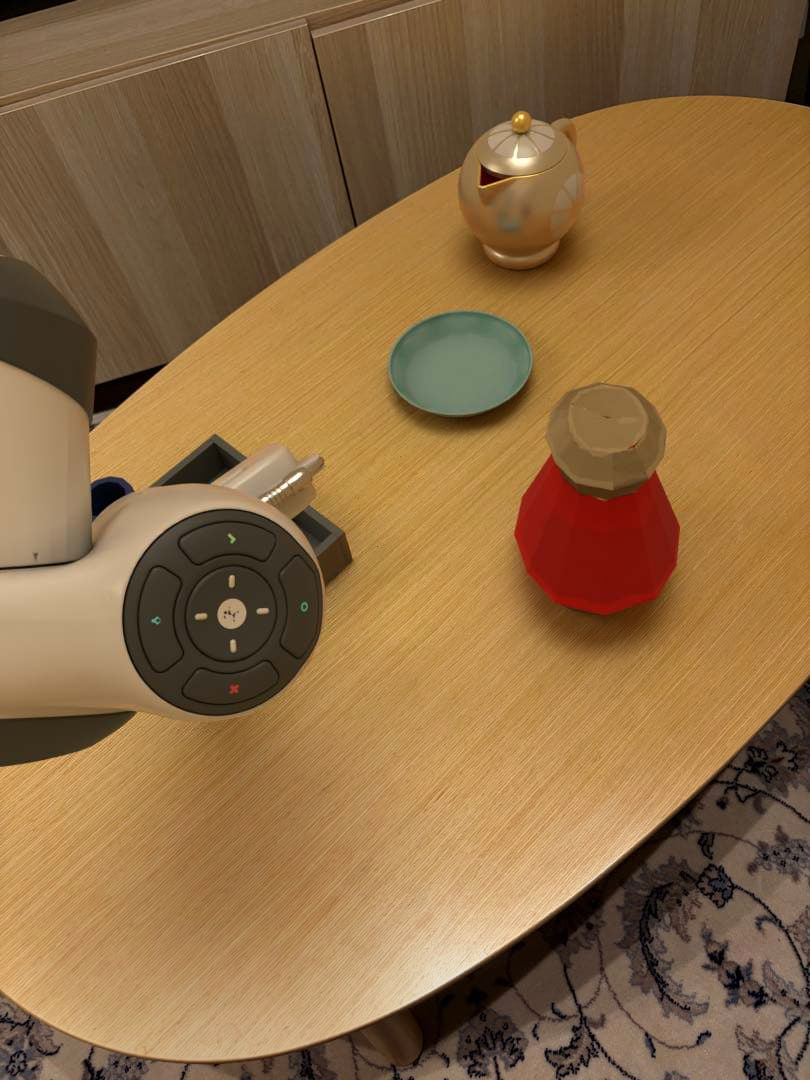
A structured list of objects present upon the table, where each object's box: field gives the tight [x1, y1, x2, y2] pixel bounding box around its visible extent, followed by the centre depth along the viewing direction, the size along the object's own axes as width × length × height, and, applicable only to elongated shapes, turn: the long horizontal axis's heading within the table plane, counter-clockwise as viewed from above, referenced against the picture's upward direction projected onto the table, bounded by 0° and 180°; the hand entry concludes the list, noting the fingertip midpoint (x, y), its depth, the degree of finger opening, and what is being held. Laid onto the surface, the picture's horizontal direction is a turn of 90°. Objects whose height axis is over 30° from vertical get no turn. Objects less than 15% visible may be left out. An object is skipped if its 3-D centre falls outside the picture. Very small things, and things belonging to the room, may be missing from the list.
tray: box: [147, 433, 354, 587], centre depth 78 cm, size 18×18×5 cm
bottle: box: [513, 381, 681, 616], centre depth 68 cm, size 16×14×20 cm
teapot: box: [457, 110, 586, 271], centre depth 94 cm, size 18×14×16 cm
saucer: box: [387, 309, 534, 418], centre depth 89 cm, size 15×15×3 cm
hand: (143, 556), depth 56 cm, fingers closed on navy bottle, 6 cm apart
